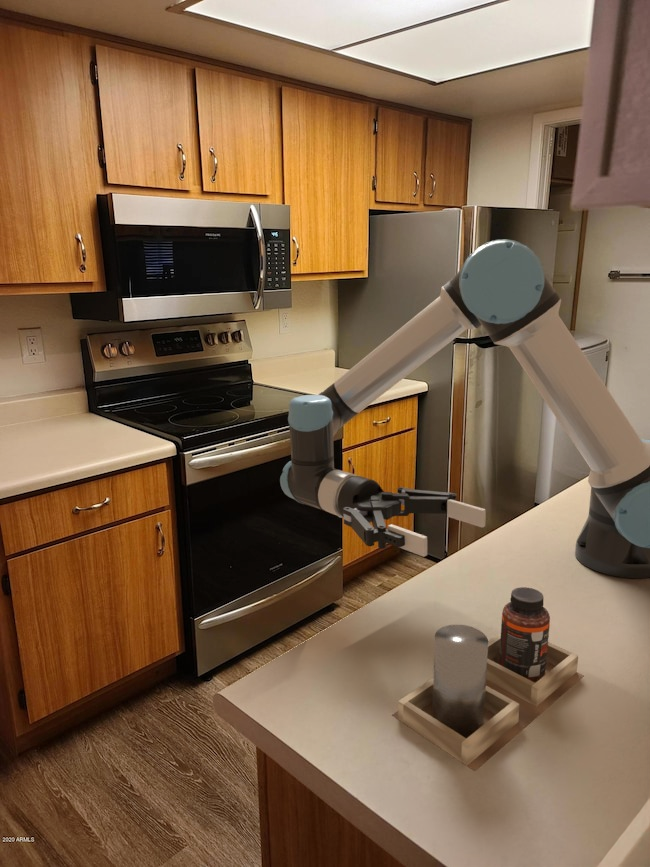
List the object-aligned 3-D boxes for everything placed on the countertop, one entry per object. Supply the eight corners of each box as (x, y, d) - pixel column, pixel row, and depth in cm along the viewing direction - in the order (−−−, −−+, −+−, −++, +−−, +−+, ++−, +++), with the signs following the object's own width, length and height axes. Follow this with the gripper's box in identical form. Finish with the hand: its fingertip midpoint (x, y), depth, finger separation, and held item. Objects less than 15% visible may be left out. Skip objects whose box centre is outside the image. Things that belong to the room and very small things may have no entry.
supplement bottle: (548, 687, 81) (555, 608, 78) (500, 682, 82) (504, 603, 79) (542, 660, 87) (548, 584, 84) (497, 655, 88) (501, 581, 85)
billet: (452, 697, 80) (455, 618, 77) (493, 721, 75) (498, 639, 73) (421, 719, 76) (423, 638, 73) (463, 746, 72) (467, 661, 69)
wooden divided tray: (504, 645, 92) (505, 622, 91) (583, 683, 84) (585, 658, 83) (391, 723, 77) (392, 697, 76) (474, 780, 68) (475, 751, 67)
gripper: (401, 498, 115) (504, 530, 99) (295, 540, 99) (397, 586, 83) (401, 459, 113) (506, 485, 97) (292, 495, 97) (397, 533, 82)
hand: (456, 532), depth 90 cm, fingers open, 13 cm apart
